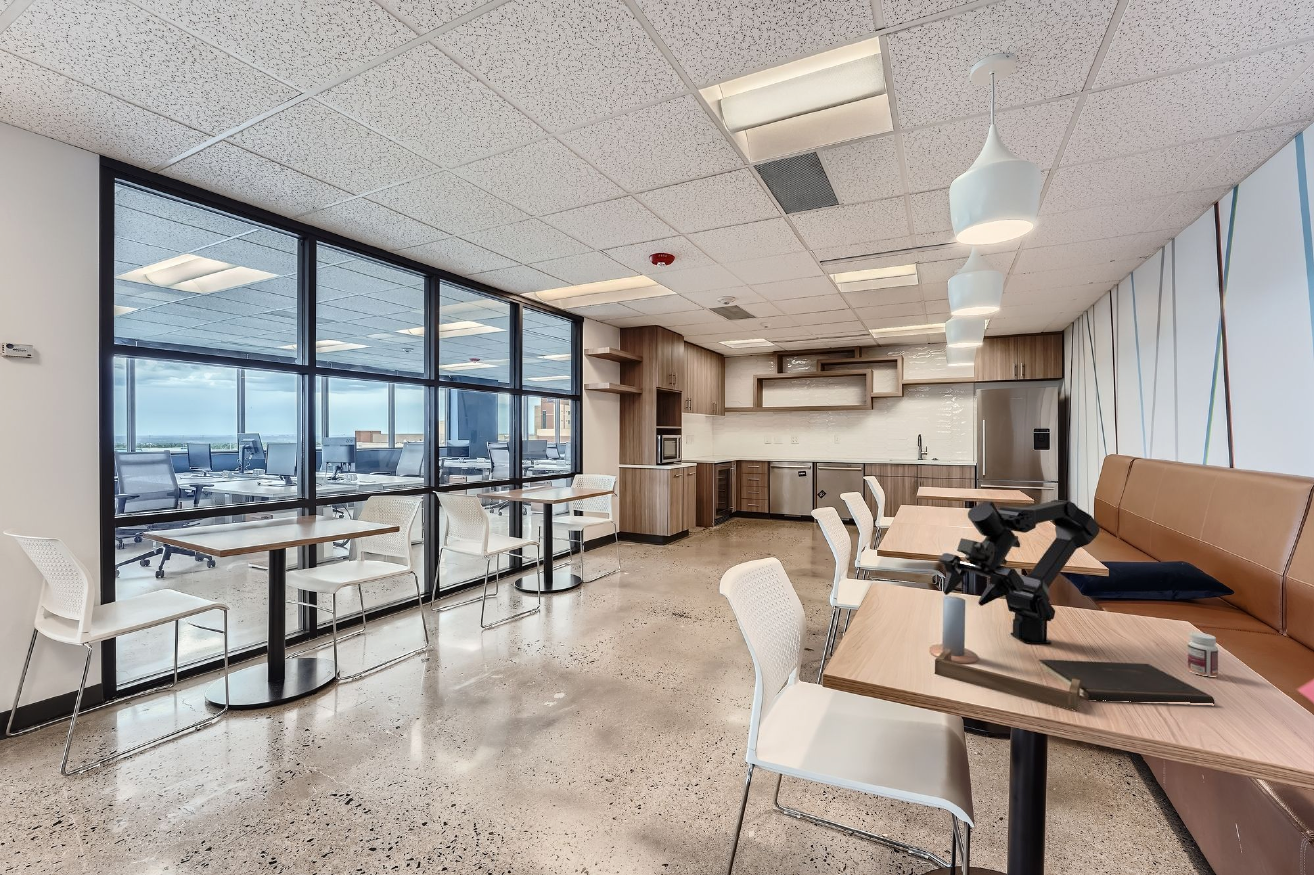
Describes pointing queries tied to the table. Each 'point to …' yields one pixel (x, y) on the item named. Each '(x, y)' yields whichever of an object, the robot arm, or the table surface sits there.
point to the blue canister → (954, 625)
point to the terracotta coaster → (967, 658)
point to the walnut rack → (1008, 683)
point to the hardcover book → (1124, 682)
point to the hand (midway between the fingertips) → (961, 598)
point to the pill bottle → (1203, 654)
